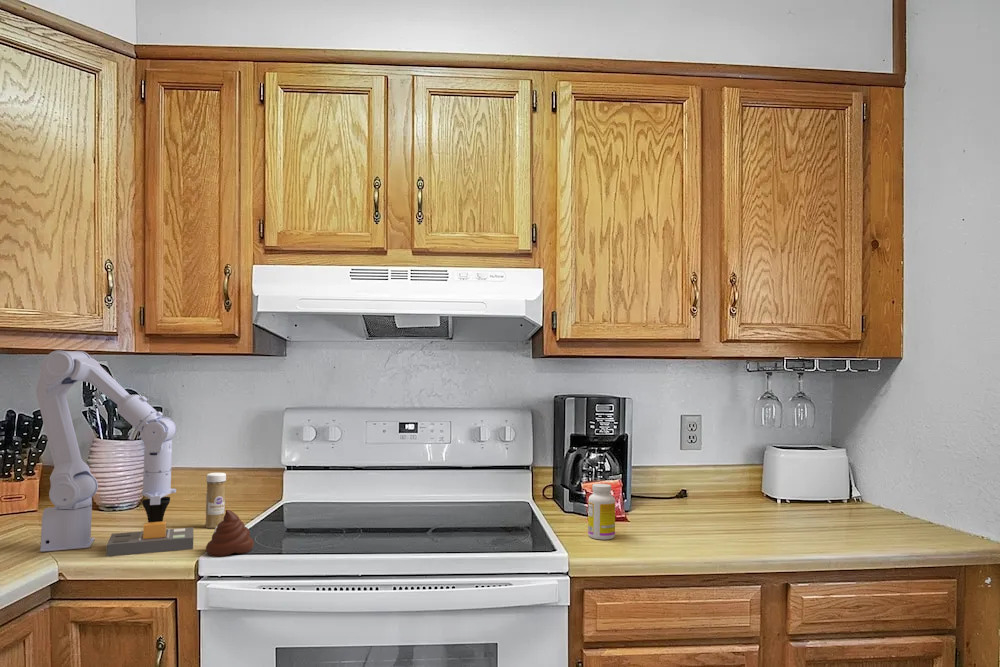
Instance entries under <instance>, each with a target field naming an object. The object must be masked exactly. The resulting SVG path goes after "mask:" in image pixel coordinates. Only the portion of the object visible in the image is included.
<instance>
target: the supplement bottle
mask: <svg viewBox="0 0 1000 667" xmlns="http://www.w3.org/2000/svg"><path fill="white" fill-rule="evenodd" d="M591 488H592V489H591V490H592V494H590V495H589V497H588V499H587V500H588V503H587V504H588V506H587V507H588V510H587V511H588V512H587V513H588V514H587V526H588V527H587V532H588V533H587V534H588V536H589V537H590V538H591V539H595V540H600V541H606V540H611V539H614V538H615V537H616V498H615V497H614V496H613V495H612V494H611V492H612V485H611V484H608V483H593V484H592V487H591Z"/></svg>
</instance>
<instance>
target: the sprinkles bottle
mask: <svg viewBox="0 0 1000 667" xmlns="http://www.w3.org/2000/svg"><path fill="white" fill-rule="evenodd" d="M226 481H227V474H226V473H225V472H210V473H207V475H206V496H205V497H206V500H205V525H204V527H205V528H206V529H215V528H216V527H217V526H218V524H219V523H220V522H222V521H223V520H224V519H223V518H224V516H225V510H226V508H225V504H226V498H225V497H226V491H225V490H226Z"/></svg>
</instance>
